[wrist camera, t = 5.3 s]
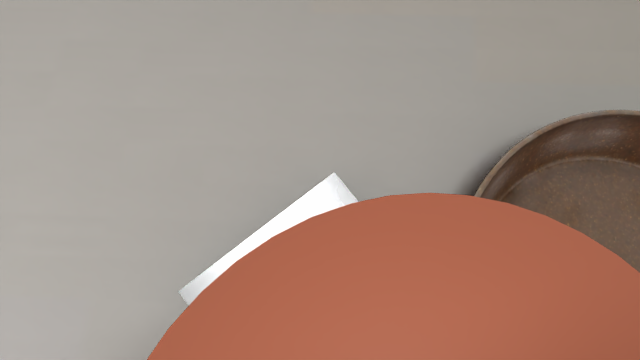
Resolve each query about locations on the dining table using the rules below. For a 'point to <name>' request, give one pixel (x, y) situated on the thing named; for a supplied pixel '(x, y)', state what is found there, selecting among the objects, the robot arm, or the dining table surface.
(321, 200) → the collar
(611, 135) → the plant saucer
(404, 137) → the dining table surface
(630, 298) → the stop pin
